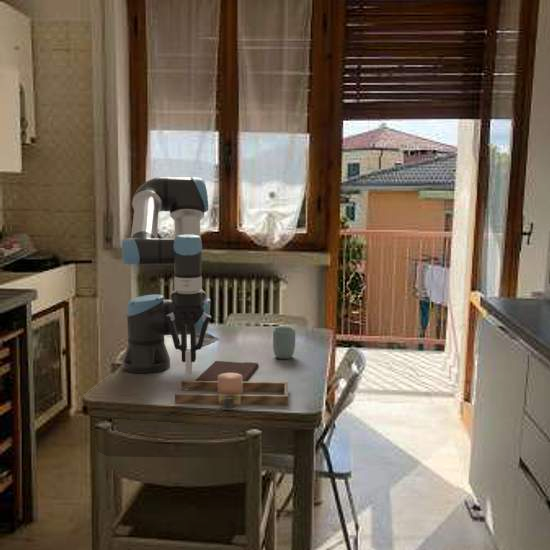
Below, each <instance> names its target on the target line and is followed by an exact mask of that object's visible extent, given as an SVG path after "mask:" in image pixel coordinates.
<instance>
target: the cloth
mask: <svg viewBox="0 0 550 550" xmlns="http://www.w3.org/2000/svg"><path fill="white" fill-rule="evenodd" d="M199 337H200V334H196V345H197V344H198V341H199ZM220 340H221V339H220V338H218V336H214V335H212V334H211V333H207V332H206V333H205V337H204V341H203V345H202V347H201V348H204V347H207V346H209V345H212V344H214V343H216V342H218V341H220Z"/></svg>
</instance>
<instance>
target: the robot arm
mask: <svg viewBox="0 0 550 550" xmlns="http://www.w3.org/2000/svg"><path fill="white" fill-rule="evenodd" d="M206 185H207V184H206V182H205V181H204V179H203V178H201V177H192V176H189V177H177V176H176V177H173V176H172V177H171V176H168V177H167V176H161V177H160V176H158V177H154V178H150V179H149V180H146V181H145V182H144V183H142V184H141V185H140V186H139V187H138V188H137V189H136V190H135V193H134V194H133V196H132V201H131V206H132V208H133V217H132V218H133V219H132V228H131V235H130V237H127V238H126V237H125V238H124V239H123V240H121V241H122V242H121V257H122V258H121V260H122V262H123V264H126V265H135V266H141V265H173V267H174V268H173V269H174V270H173V271H174V276H173V277H174V278H173V282H174V284H173V285H174V287H173V288H174V290H172V292H171V293H170V298H169V299H165V297H164V295H163V294H147V295H141V296H137V297H134V298H132V299H130V300H129V301H128V303H127V304H126V305H127V311H126V317H127V347H126V350H125V352H124V353H125V354H124V356H123V360H122V368H123V370H124V371H125V372H128V373H133V374H151V373H158V372H162V371H165V370H168V369H169V368H170V367H171V358H170V355H169V352H168V349H167V346H166V343H165V336H171V339H172V342H173V345H174V348H175V349H176V350H179V351H180V352H181V362H182V363H185V366H184V367H185V375H192V373H193V363H195V362H196V360H197V351H199V350H202V348H203V347H202V345H203V341H204V337H205V333H207V331H208V326H209V323H210V321H211V320H212V315H210V311H211V299H210V298H208V297H207V292H206V291H204V289H203V274H202V270H203V269H202V266H203V263H202V261H203V258H202V257H203V256H202V255H203V251H202V250H203V243H202V238H201V220H202V219H203V218H205V213H206V212H207V213H208V212H209V199H208V189H207V186H206ZM160 212H169V216H170V218H171V219H172V220H173V221H174V237H172V238H171V237H167V238H164V237H163V238H162V237H158V225H159V223H158V222H159V213H160ZM196 334H200V337H199V341H198V344H197V345H196ZM189 335H190V336H189ZM179 336H180V338H179ZM187 336H189V337H190V348H188V337H187Z"/></svg>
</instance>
